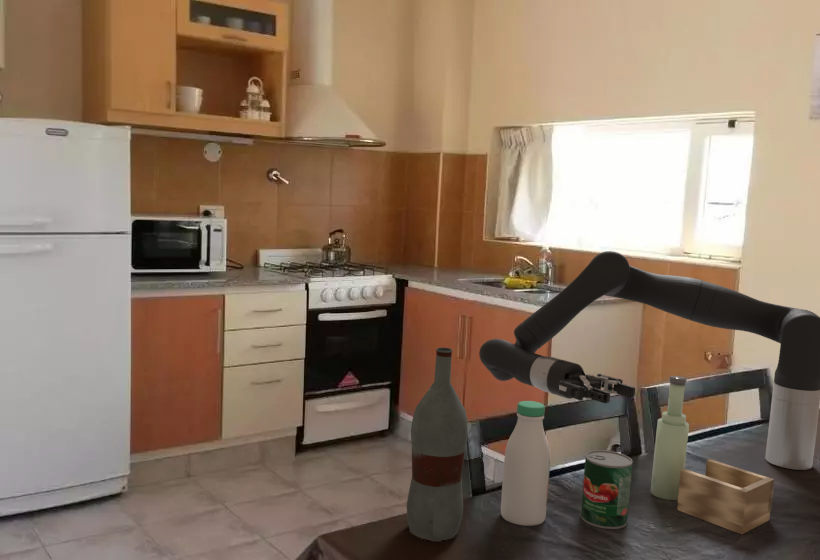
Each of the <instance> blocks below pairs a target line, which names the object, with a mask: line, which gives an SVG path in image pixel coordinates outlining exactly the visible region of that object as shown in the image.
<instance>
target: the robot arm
mask: <svg viewBox="0 0 820 560" xmlns="http://www.w3.org/2000/svg"><path fill="white" fill-rule="evenodd" d="M603 296H606V297H612V298H617V299H622V300H627V301H630V302H631V301H632V302H637V303H641V304H644V305H646V306H650V307H652V308H655V309H657V310H660V311H663V312H666V313H668V314H670V315H673V316H676V317H679V318H682V319H685V320H688V321H691V322H694V323H698V324H702V325H705V326H709V327H713V328H718V329H723V330H724V329H726V330H733V331H740V332H745V333H746V332H748V333H751V334H754V335H758V336H761V337H763V338H766V339H768V340H771V341H773V342H776V343H778V344H780V346H779V347H780V348H779V354H778V362H777V367H776V369H775V371H774V377H773V386H772V394H771V395H772V396H771V404H770V412H769V413H770V414H769V423H768V424H769V425H768V431H767V440H766V446H765V447H766V449H765V457H764V458H765V460H766V462H768V463H770V464H772V465H774V466H777V467H780V468H785V469H790V470H796V471H797V470H798V471H807V470H810V469H813V461H814V454H815V447H816V439H817V430H818V424H819V423H818V421H819V414H820V316H819V315H818V314H817V313H814V312H813V311H811V310H807V309H802V308H796V307H790V306H784V305H781V304H775V303H769V302H766V301H762V300H760V299H756V298H754V297H751V296H749V295H747V294H744V293H742V292H740V291H736V290H733V289H731V288H728V287H726V286H722V285H719V284H716V283H713V282H709V281H705V280H702V279H698V278H693V277H687V276H681V275H680V276H679V275H669V274H668V275H667V274H660V273H659V274H658V273H653V272H650V271H647V270H643V269H641V268H638V267H636V266H632V265H631V264H630V263H629V261H628V259H627V258H626V256H624V255H623V254H621V253H620V252H617V251H613V250H607V251H602V252H600V253H598V254H596V255H595V256H594V257H593V258H592V259H591V260H590V262H589V263H588V264H587V266H585V268H584V269H583V270H582V271H581V272H580V273H579V274H578V276H577V277H575V278H574V279H573V281H572V282H571V283H569V284H567V286H566V287H565V288H564V289H563V290H562V291H560V292H559V293H558V294H556V296H554V297H552V299H550V300H549V301H547V302H546V303H545V304H544V305H542V306H541V307H539V308H538V309H537V310H536V311H534V312H533V313H532V314H530V316H528V317H527V318H525V319H524V320H523V321H522V322H520V323H519V324H518V325H517V326H516V327H515V328H514V330H513V334H514V337H515V343H512V342H510V341H508V340H505V339H503V338H502V339H501V338H493V339H489V340H486V341H485V342H484V343H483V344H482V345H481V346H480V349H479V353H478V355H479V360H480V361H481V363H482V364H483V366H484V367H485V368H486V369H487V370H488V371H489V373H490V374H491V375H492V376H493V377H494V378H495V379H496V380H497V381H501V382H506V381H510V380H512V379H513V378H514V379H515V380H517V381H518V382H520V383H522V384H524V385H528V386H532V387H534V388H536V389H538V390H541V391H543V392H546V393H549V394H552V395H556V396H559V397H562V398H565V399H567V400H568V399H569V400H570V399H575V400H578V401H583V400H584V399H585V400H587V401H590V400H593V401H596V402H599V403H601V404H609V403H610V402H611V401H610V399H611V394H615V395H618V396H619V395H620V396H623V397H627V398H631V399H633V398H635V394H636V387H635V386H632V385H628V384H625V383H623V381H624V380H623V379H621V378H617V377H613V376H609V375H605V374H602V373H597V374H596V375H595V374H591V373H585V371H584V368H583V367H582V365H581V364H578V363H576V362H573V361H568V360H566V359H565V360H564V359H560V358H557V357H553V356H546V355H541V354H538V353H536V352H537V351H538V350H540V348H542V347H543V346H544V345H546V344H547V343H548V342H549V341H551V340H552V339H554V337H555V336H557V335H558V334H559V333H561V331H562V330H563V329H564V328H566V327H567V325H568V324H569V323H570V322H571V321H573V319H574V318H576V317H577V315H579V314H580V313H581V312H582V311H583V310H584V309H586V308H587V307H588V306H590V305H591V304H592V303H594V302H595V301H596V300H598V299H600V298H601V297H603ZM602 388H603V389H602Z"/></svg>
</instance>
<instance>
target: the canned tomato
mask: <svg viewBox="0 0 820 560" xmlns="http://www.w3.org/2000/svg"><path fill="white" fill-rule="evenodd" d="M584 456H585V457H584V458H585V459H584V460H585V461H584V469H583V470H584V471H583V481H582V484H583V485H582V495H581V496H582V497H581V509H580V518H581V520H582V521H584V522H585V523H586V524H588V525H589V526H592V527H595V528H600V529H606V530H619V529H623V528H625V527H626V526H627V525H628V517H629V508H630V507H629V506H630V505H629V504H630V496H631V495H630V494H631V483H632V472H633V471H632V470H633V459H632V458H631V457H630V456H627V455H626V454H623V453H620V452H617V451H612V450H606V449H605V450H603V449H598V450H597V449H596V450H590V451H587V452H586V453H585V455H584Z"/></svg>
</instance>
